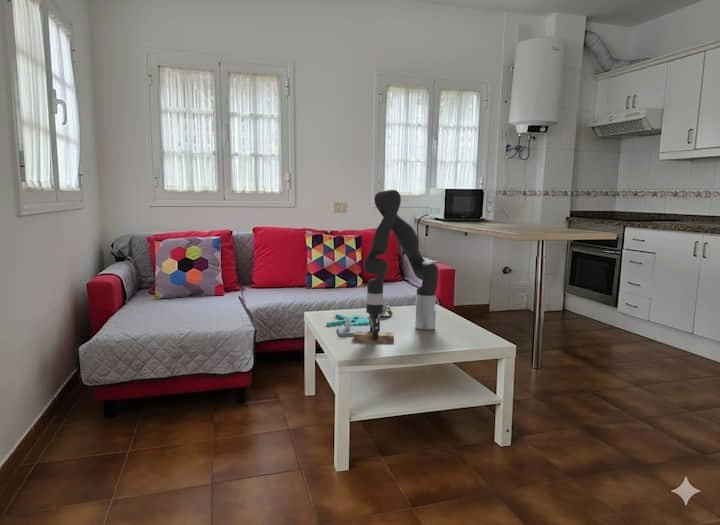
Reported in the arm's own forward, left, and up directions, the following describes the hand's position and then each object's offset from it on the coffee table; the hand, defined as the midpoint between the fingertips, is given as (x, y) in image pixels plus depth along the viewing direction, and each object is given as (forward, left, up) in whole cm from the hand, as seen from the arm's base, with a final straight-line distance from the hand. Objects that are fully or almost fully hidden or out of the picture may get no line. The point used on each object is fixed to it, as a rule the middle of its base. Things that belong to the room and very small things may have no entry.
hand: (373, 337), depth 221 cm
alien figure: (+7, -31, -2) cm, 32 cm away
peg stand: (+4, -13, -1) cm, 14 cm away
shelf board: (0, 0, -2) cm, 2 cm away
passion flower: (-11, -44, -2) cm, 45 cm away
